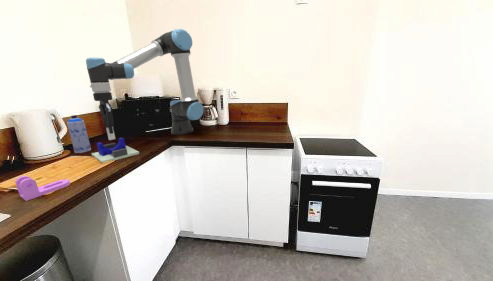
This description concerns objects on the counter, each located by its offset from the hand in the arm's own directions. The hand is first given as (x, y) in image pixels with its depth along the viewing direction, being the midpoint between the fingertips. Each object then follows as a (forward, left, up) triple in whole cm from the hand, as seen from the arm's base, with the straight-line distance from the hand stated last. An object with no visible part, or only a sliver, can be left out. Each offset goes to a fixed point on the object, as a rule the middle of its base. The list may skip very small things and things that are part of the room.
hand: (112, 139), depth 111 cm
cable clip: (0, -2, -7) cm, 8 cm away
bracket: (+29, +23, -9) cm, 38 cm away
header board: (0, 0, -8) cm, 8 cm away
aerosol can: (+9, -24, -9) cm, 27 cm away
